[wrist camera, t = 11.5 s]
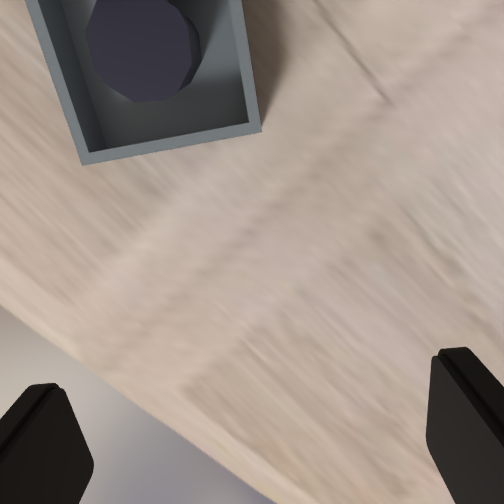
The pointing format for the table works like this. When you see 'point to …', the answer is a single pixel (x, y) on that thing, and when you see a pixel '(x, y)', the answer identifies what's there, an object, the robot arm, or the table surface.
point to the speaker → (143, 48)
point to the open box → (155, 112)
